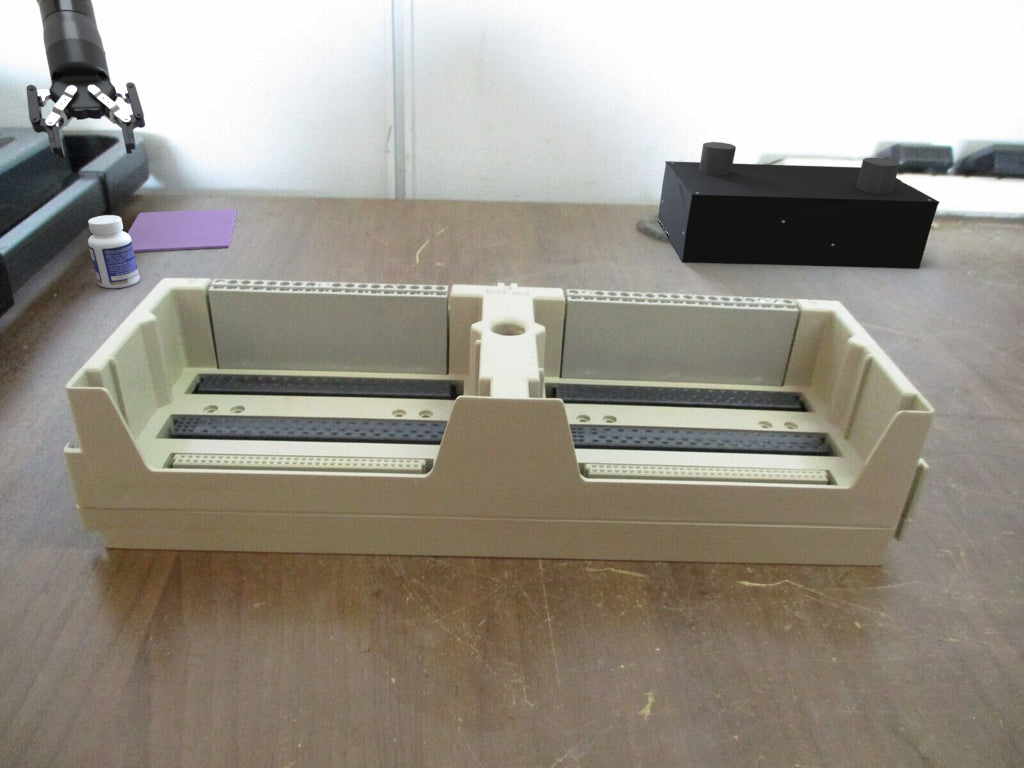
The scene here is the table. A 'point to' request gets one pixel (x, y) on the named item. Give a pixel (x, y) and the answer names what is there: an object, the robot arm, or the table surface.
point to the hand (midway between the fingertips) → (95, 152)
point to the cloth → (182, 230)
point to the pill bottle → (112, 253)
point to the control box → (793, 213)
